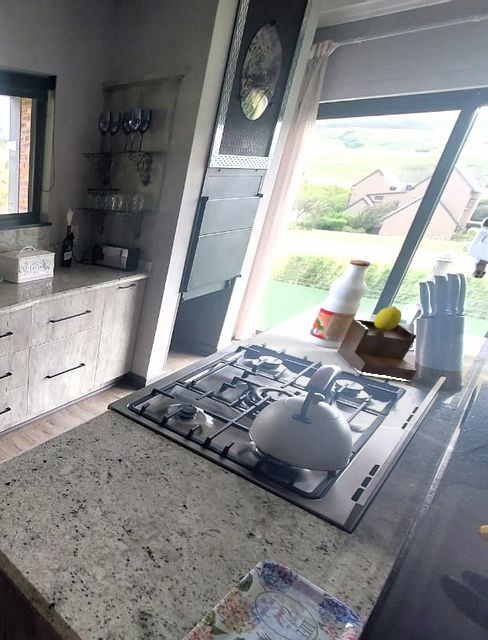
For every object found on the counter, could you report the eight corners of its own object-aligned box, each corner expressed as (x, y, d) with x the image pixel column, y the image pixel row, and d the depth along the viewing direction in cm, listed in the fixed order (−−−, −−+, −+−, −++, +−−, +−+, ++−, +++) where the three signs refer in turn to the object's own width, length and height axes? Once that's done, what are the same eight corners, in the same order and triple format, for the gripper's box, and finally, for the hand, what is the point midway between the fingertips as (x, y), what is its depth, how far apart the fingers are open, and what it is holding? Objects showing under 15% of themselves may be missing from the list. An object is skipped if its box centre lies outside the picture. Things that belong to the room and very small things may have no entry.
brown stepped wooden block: (381, 357, 130) (400, 324, 125) (409, 382, 115) (431, 345, 110) (337, 351, 134) (353, 318, 128) (358, 374, 119) (377, 338, 113)
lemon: (376, 327, 126) (389, 302, 122) (397, 333, 122) (411, 308, 118) (365, 329, 124) (377, 304, 121) (385, 336, 120) (399, 310, 116)
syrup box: (415, 351, 136) (439, 309, 129) (395, 349, 136) (418, 308, 130) (403, 344, 141) (425, 304, 134) (384, 342, 141) (405, 303, 135)
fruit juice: (335, 350, 134) (376, 266, 121) (303, 341, 141) (338, 260, 127) (343, 344, 140) (383, 262, 126) (311, 335, 146) (346, 256, 133)
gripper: (579, 231, 86) (535, 294, 93) (511, 220, 103) (478, 274, 110) (539, 229, 88) (499, 290, 95) (479, 218, 105) (448, 271, 112)
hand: (487, 281), depth 102 cm, fingers open, 8 cm apart
